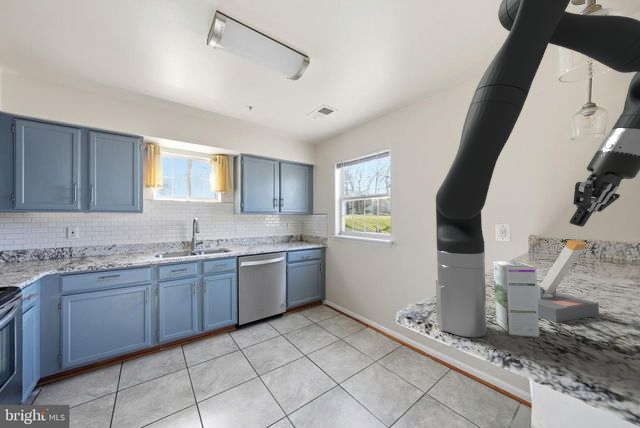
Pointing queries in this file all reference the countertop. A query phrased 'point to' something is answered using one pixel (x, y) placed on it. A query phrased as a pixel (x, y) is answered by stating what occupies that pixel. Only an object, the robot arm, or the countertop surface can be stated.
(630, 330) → the countertop surface
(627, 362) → the countertop surface
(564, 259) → the breaker handle
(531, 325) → the syrup box
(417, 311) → the countertop surface
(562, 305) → the base
